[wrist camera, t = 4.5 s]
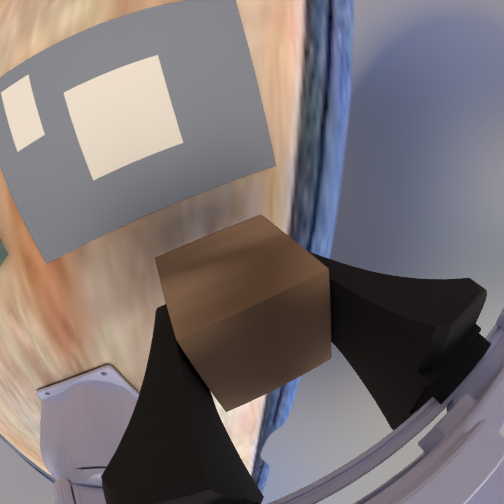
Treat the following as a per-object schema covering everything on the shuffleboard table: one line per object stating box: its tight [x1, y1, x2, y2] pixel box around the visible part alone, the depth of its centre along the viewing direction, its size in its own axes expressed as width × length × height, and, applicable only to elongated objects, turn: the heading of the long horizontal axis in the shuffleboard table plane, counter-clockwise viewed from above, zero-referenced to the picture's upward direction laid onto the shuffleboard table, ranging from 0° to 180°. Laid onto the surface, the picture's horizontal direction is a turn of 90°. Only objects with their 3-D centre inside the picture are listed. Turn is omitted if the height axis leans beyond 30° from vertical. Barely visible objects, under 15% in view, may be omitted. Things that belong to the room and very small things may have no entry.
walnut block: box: [155, 215, 331, 412], centre depth 10 cm, size 4×4×4 cm
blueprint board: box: [0, 0, 276, 264], centre depth 13 cm, size 16×12×1 cm
